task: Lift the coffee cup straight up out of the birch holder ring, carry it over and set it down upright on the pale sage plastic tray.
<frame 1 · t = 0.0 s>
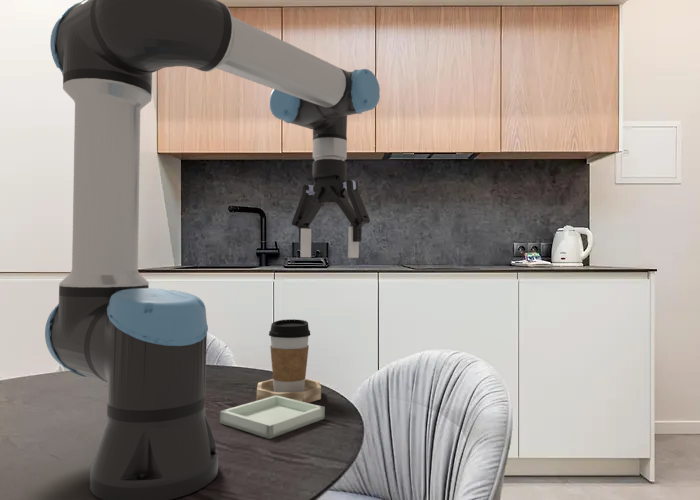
hand: (328, 257, 113), 28 cm above the table, fingers open, 13 cm apart
tray: (273, 420, 88), on the table
coffee cup: (288, 397, 104), resting in holder ring
holder ring: (288, 396, 104), on the table
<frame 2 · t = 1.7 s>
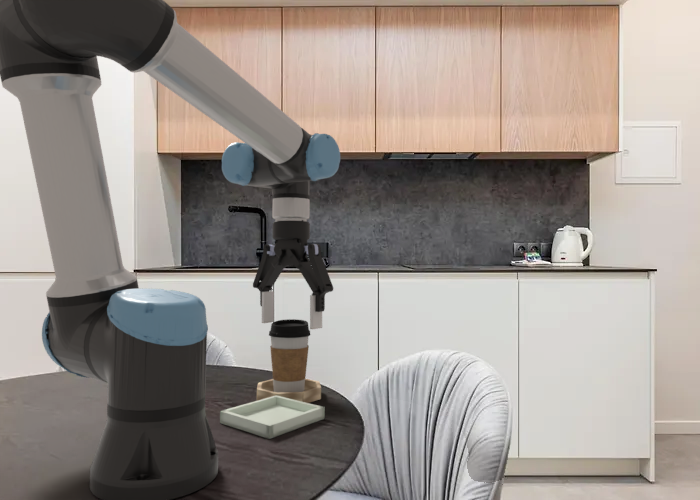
hand: (291, 325, 104), 14 cm above the table, fingers open, 13 cm apart
nothing on the table moved.
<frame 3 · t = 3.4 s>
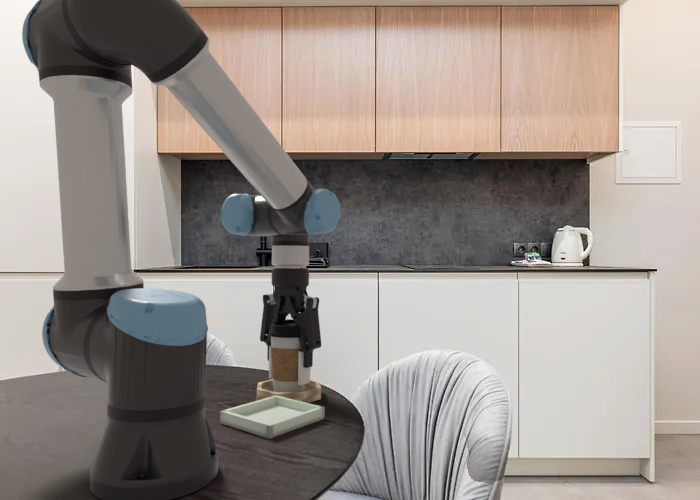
hand: (289, 380, 104), 3 cm above the table, fingers closed on coffee cup, 7 cm apart
coffee cup: (288, 397, 104), resting in holder ring, touching gripper
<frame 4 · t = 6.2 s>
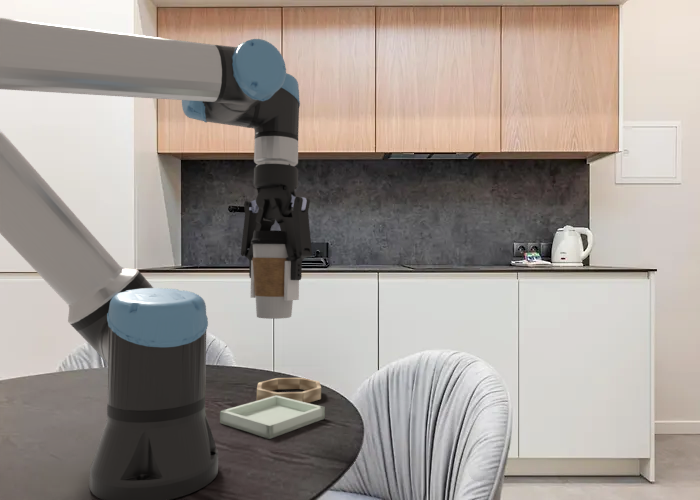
hand: (274, 298, 88), 21 cm above the table, fingers closed on coffee cup, 7 cm apart
coffee cup: (274, 317, 88), point 18 cm above the table, touching gripper
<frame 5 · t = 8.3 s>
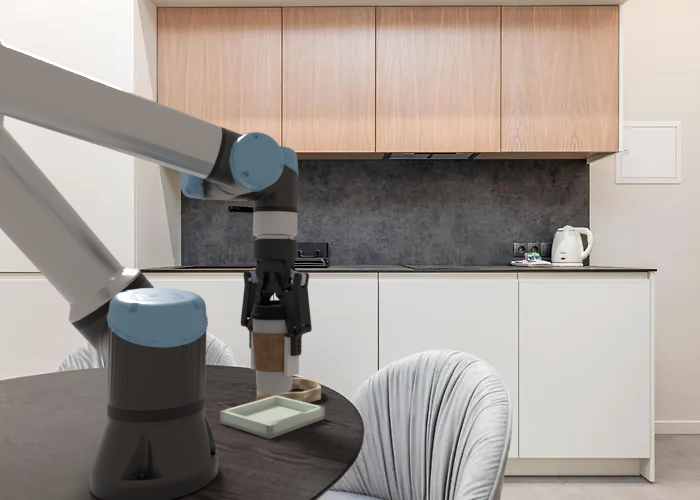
hand: (274, 371, 88), 8 cm above the table, fingers closed on coffee cup, 7 cm apart
coffee cup: (274, 390, 88), point 5 cm above the table, touching gripper
when the fingers open (5 cm above the table, at t = 9.5 s): coffee cup drops 1 cm, resting on tray.
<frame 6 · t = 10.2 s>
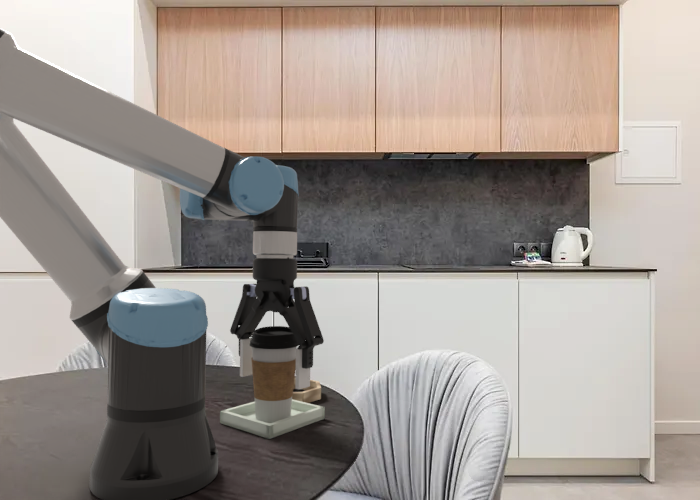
hand: (273, 381, 88), 7 cm above the table, fingers open, 13 cm apart
coffee cup: (273, 418, 88), resting on tray
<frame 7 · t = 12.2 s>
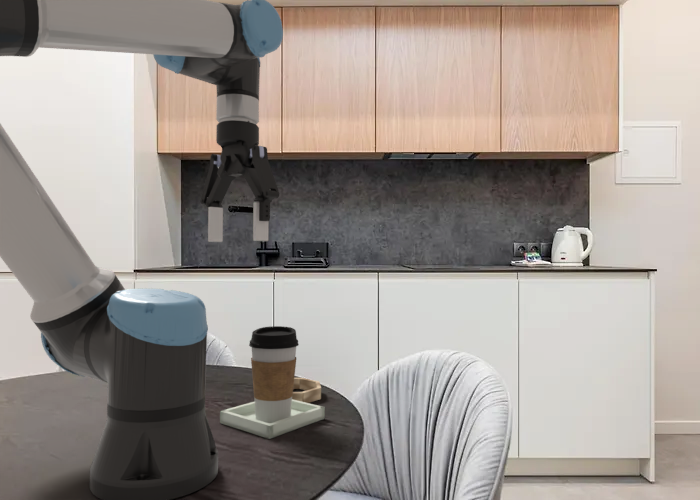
hand: (237, 241, 93), 31 cm above the table, fingers open, 13 cm apart
nothing on the table moved.
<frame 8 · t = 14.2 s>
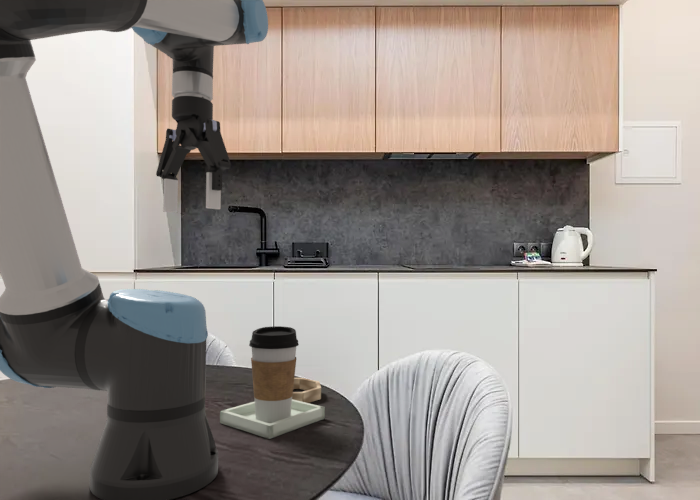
hand: (191, 210, 98), 37 cm above the table, fingers open, 13 cm apart
nothing on the table moved.
at the end: coffee cup inside the target area on the tray (0.0 cm from its centre), point 0.4 cm above the tray's base; coffee cup tilted 0°; the gripper is holding nothing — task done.
